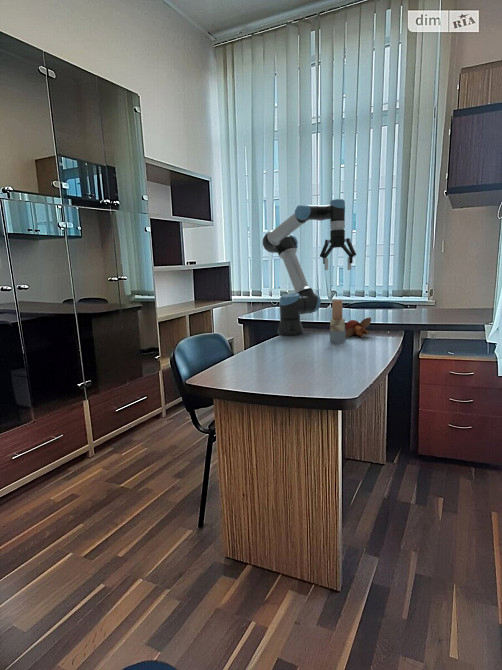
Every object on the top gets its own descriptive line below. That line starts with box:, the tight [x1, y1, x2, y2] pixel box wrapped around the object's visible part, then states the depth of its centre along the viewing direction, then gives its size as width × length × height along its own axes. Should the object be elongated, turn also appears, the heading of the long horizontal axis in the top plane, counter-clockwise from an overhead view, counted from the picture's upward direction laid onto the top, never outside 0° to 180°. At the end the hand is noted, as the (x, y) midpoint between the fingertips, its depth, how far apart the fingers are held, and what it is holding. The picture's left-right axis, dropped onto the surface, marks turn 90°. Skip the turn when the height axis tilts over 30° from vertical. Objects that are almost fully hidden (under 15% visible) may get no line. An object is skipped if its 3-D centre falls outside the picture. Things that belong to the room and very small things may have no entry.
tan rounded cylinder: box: [331, 299, 343, 320], centre depth 210 cm, size 5×5×10 cm
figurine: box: [345, 317, 372, 339], centre depth 225 cm, size 20×9×15 cm
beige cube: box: [329, 317, 346, 332], centre depth 212 cm, size 6×6×6 cm
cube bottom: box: [329, 329, 347, 344], centre depth 213 cm, size 6×6×6 cm
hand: (337, 270), depth 219 cm, fingers open, 13 cm apart
